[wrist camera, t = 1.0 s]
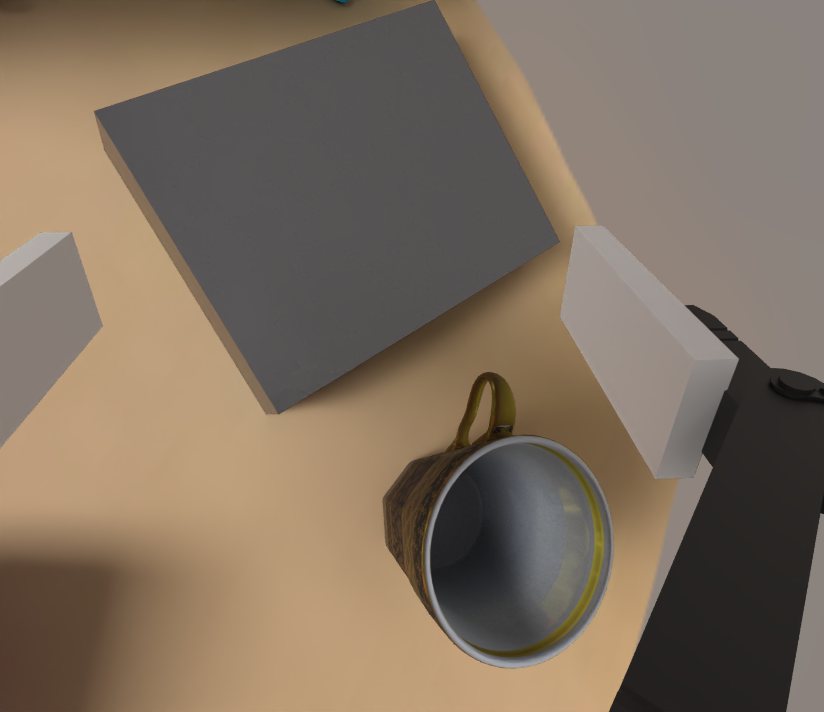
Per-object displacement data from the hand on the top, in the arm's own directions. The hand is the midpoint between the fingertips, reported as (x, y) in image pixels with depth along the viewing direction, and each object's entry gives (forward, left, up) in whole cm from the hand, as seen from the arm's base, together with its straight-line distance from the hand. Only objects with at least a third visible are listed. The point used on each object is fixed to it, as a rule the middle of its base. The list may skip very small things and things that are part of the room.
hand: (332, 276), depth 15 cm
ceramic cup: (+13, +5, -17) cm, 22 cm away
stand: (-4, +9, -17) cm, 20 cm away
